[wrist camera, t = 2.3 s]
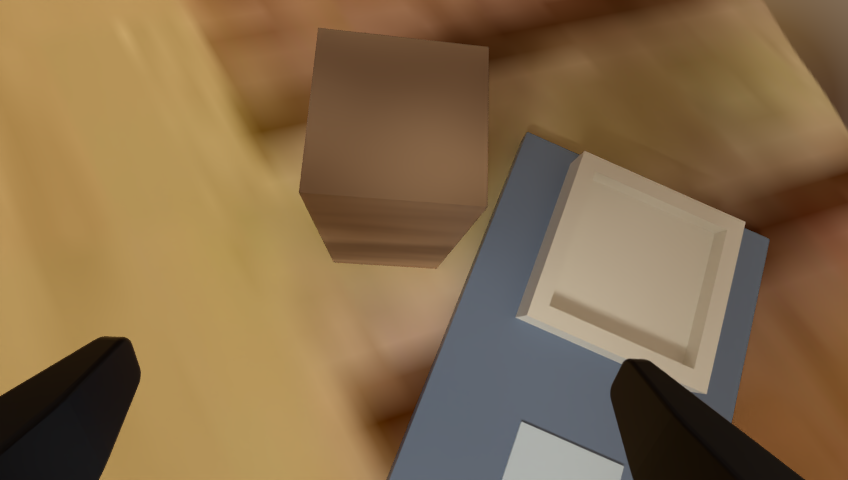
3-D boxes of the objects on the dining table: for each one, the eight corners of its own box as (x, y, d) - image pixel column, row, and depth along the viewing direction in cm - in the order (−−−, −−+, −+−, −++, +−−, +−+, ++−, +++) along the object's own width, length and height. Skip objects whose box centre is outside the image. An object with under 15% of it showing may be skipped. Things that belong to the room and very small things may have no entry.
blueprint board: (655, 711, 18) (696, 766, 16) (347, 578, 18) (343, 613, 16) (756, 242, 24) (798, 231, 21) (522, 138, 24) (538, 116, 21)
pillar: (436, 268, 21) (487, 206, 12) (333, 262, 21) (299, 192, 11) (439, 173, 23) (488, 47, 13) (342, 166, 22) (318, 27, 12)
